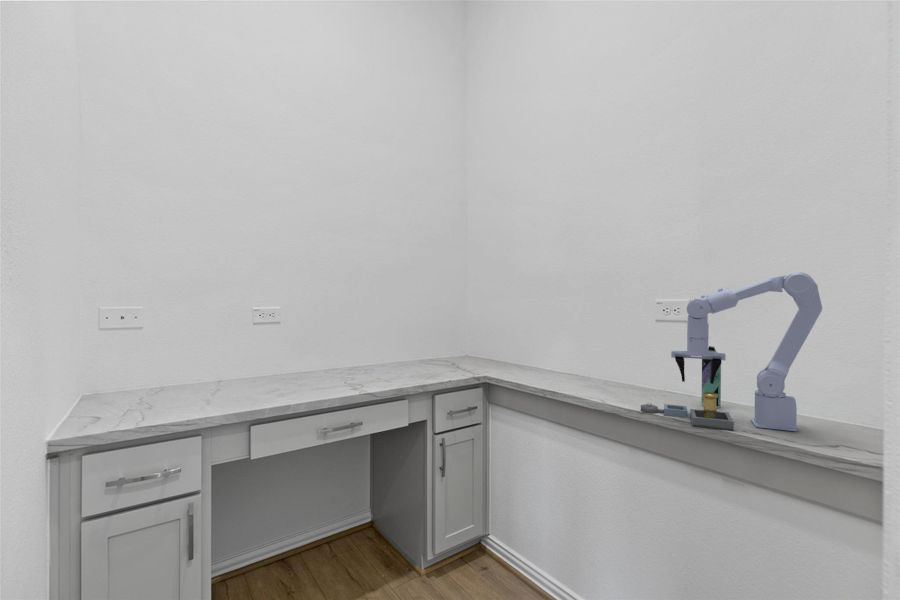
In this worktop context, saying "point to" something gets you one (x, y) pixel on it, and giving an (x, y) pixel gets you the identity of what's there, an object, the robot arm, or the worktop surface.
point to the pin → (709, 404)
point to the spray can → (706, 379)
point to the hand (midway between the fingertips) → (697, 382)
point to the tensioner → (666, 409)
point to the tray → (712, 420)
